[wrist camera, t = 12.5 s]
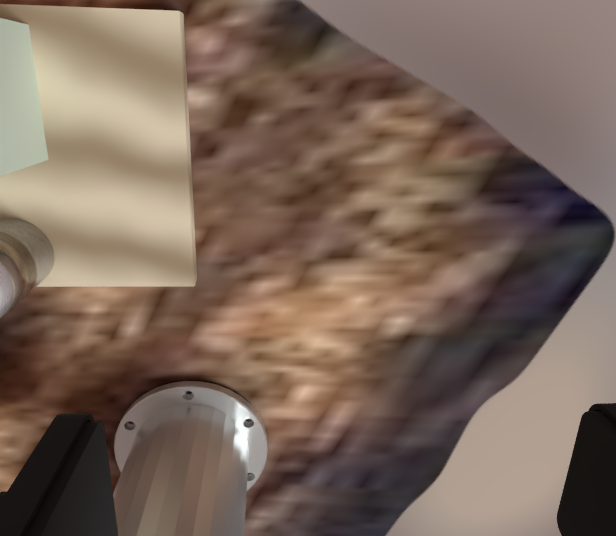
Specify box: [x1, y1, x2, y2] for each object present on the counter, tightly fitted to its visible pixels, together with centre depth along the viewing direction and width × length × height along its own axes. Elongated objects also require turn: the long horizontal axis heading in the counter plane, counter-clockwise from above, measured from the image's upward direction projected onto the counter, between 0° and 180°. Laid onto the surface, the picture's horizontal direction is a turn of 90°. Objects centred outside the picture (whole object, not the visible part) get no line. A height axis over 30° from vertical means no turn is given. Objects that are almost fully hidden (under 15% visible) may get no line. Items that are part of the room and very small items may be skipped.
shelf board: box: [0, 4, 197, 287], centre depth 33 cm, size 18×16×4 cm
